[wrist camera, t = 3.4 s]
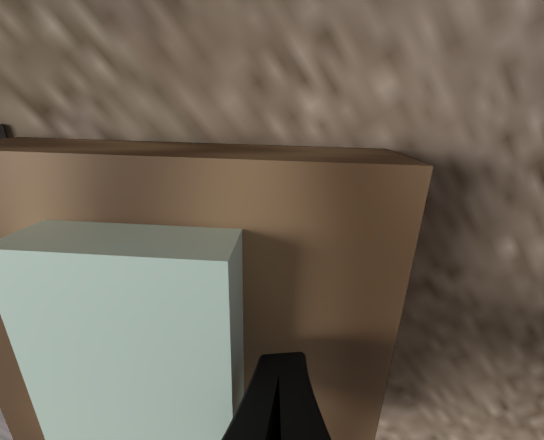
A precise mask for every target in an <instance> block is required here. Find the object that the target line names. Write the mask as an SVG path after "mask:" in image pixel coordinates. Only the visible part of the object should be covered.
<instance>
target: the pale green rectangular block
mask: <svg viewBox="0 0 544 440" xmlns="http://www.w3.org/2000/svg"><path fill="white" fill-rule="evenodd" d="M0 315H1V318H2V320H3V323H4V326H5V329H6V332H7V334H8V337H9V340H10V343H11V346H12V348H13V351H14V354H15V357H16V359H17V362H18V365H19V368H20V371H21V373H22V376H23V379H24V382H25V385H26V387H27V390H28V393H29V396H30V399H31V401H32V404H33V407H34V410H35V413H36V415H37V418H38V421H39V424H40V427H41V429H42V432H43V435H44V438H45V440H221V439H222V438H223V436H224V434H225V432H226V430H227V428H228V426H229V424H230V423H231V421H232V418H233V416H234V414H235V412H236V410H237V408H238V406H239V404H240V402H241V400H242V398H243V396H244V350H243V262H242V229H233V228H212V227H190V226H169V225H148V224H126V223H105V222H84V221H62V220H42V221H40V222H38V223H35V224H33V225H31V226H28V227H26V228H24V229H21V230H19V231H16V232H14V233H12V234H9V235H7V236H5V237H2V238H0Z"/></svg>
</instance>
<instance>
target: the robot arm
mask: <svg viewBox="0 0 544 440" xmlns="http://www.w3.org/2000/svg"><path fill="white" fill-rule="evenodd" d="M221 440H331V437H330V435H329V432H328V430H327V428H326V425H325V423H324V420H323V417H322V415H321V412H320V409H319V407H318V404H317V401H316V398H315V395H314V392H313V389H312V386H311V382H310V379H309V375H308V369H307V362H306V356H305V354H304V353H303V352H289V353H276V354H262V355H261V356H260V357H259V360H258V362H257V365H256V368H255V370H254V373H253V375H252V378H251V380H250V382H249V385H248V387H247V389H246V391H245V394H244V396H243V398H242V400H241V402H240V404H239V406H238V408H237V410H236V412H235V414H234V416H233V418H232V421H231V423H230V424H229V426H228V428H227V430H226V432H225V434H224V436H223V438H222V439H221Z"/></svg>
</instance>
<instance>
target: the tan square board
mask: <svg viewBox="0 0 544 440" xmlns="http://www.w3.org/2000/svg"><path fill="white" fill-rule="evenodd" d="M432 171H433V166H432V165H429V164H427V163H424V162H421V161H418V160H415V159H413V158H410V157H407V156H404V155H402V154H399V153H396V152H393V151H390V150H388V149H372V148H340V147H309V146H277V145H246V144H214V143H183V142H151V141H120V140H88V139H57V138H25V137H15V138H2V139H0V238H2V237H5V236H7V235H9V234H12V233H14V232H16V231H19V230H21V229H24V228H26V227H28V226H31V225H33V224H35V223H38V222H40V221H42V220H62V221H84V222H105V223H126V224H148V225H169V226H190V227H212V228H233V229H242V262H243V350H244V394H245V391H246V389H247V387H248V385H249V382H250V380H251V378H252V375H253V373H254V370H255V368H256V365H257V362H258V360H259V357H260V356H261V355H262V354H276V353H289V352H303V353H304V354H305V356H306V362H307V369H308V375H309V379H310V382H311V386H312V389H313V392H314V395H315V398H316V401H317V404H318V407H319V409H320V412H321V415H322V417H323V420H324V423H325V425H326V428H327V430H328V432H329V435H330V437H331V440H375V436H376V432H377V427H378V422H379V418H380V413H381V408H382V404H383V399H384V394H385V390H386V385H387V380H388V376H389V371H390V366H391V362H392V357H393V352H394V348H395V343H396V338H397V334H398V329H399V324H400V320H401V315H402V310H403V306H404V301H405V297H406V292H407V287H408V283H409V278H410V273H411V269H412V264H413V259H414V255H415V250H416V245H417V241H418V236H419V231H420V227H421V222H422V217H423V213H424V208H425V203H426V199H427V194H428V189H429V185H430V180H431V175H432ZM0 408H1V411H2V413H3V416H4V418H5V420H6V423H7V425H8V428H9V430H10V432H11V435H12V437H13V440H45V438H44V435H43V432H42V429H41V427H40V424H39V421H38V418H37V415H36V413H35V410H34V407H33V404H32V401H31V399H30V396H29V393H28V390H27V387H26V385H25V382H24V379H23V376H22V373H21V371H20V368H19V365H18V362H17V359H16V357H15V354H14V351H13V348H12V346H11V343H10V340H9V337H8V334H7V332H6V329H5V326H4V323H3V320H2V318H1V315H0Z"/></svg>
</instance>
